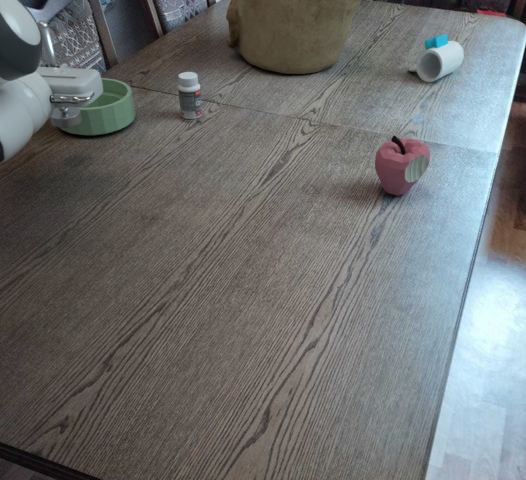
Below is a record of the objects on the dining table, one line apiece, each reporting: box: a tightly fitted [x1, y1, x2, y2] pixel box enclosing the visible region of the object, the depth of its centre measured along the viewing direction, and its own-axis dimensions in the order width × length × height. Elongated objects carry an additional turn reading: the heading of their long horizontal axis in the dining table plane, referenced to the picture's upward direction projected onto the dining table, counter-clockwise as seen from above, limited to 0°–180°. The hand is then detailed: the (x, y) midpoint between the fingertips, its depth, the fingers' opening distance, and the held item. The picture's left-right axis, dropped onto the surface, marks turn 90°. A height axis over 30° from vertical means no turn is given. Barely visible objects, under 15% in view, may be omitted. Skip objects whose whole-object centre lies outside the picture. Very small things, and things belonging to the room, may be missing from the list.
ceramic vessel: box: [225, 0, 363, 75], centre depth 139 cm, size 29×42×25 cm
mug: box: [408, 33, 465, 83], centre depth 137 cm, size 12×9×12 cm
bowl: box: [54, 77, 136, 136], centre depth 117 cm, size 17×17×6 cm
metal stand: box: [37, 20, 82, 128], centre depth 95 cm, size 6×6×16 cm
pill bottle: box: [177, 71, 203, 120], centre depth 118 cm, size 5×5×8 cm
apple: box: [374, 135, 431, 197], centre depth 96 cm, size 10×9×10 cm
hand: (55, 67), depth 95 cm, fingers closed on metal stand
